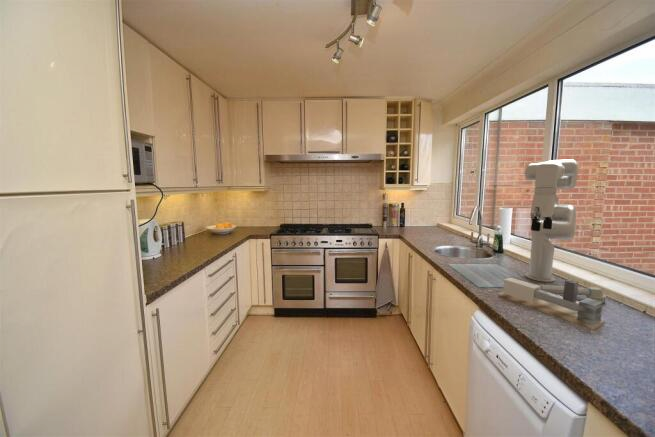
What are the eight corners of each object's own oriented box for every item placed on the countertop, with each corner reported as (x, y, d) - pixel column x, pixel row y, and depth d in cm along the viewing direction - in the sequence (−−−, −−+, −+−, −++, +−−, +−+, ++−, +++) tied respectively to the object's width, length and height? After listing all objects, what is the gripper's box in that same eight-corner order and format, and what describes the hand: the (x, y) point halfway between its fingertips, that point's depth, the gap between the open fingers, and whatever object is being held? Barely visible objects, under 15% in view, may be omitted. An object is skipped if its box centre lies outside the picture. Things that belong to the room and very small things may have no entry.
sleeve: (503, 293, 123) (504, 279, 122) (509, 290, 125) (510, 277, 124) (532, 303, 112) (533, 288, 112) (539, 300, 115) (540, 286, 114)
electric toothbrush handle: (531, 282, 129) (602, 284, 116) (532, 295, 129) (603, 299, 117) (533, 286, 124) (607, 288, 112) (534, 300, 124) (608, 303, 112)
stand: (498, 295, 123) (499, 277, 122) (509, 291, 127) (511, 274, 126) (593, 329, 94) (595, 307, 93) (604, 323, 98) (607, 302, 97)
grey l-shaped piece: (526, 294, 115) (528, 271, 114) (530, 293, 117) (532, 270, 115) (590, 316, 97) (594, 288, 95) (594, 314, 98) (598, 286, 96)
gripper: (545, 190, 125) (542, 226, 127) (524, 191, 117) (521, 230, 120) (565, 191, 118) (561, 229, 121) (544, 192, 111) (540, 233, 113)
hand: (541, 229), depth 120 cm, fingers open, 9 cm apart
